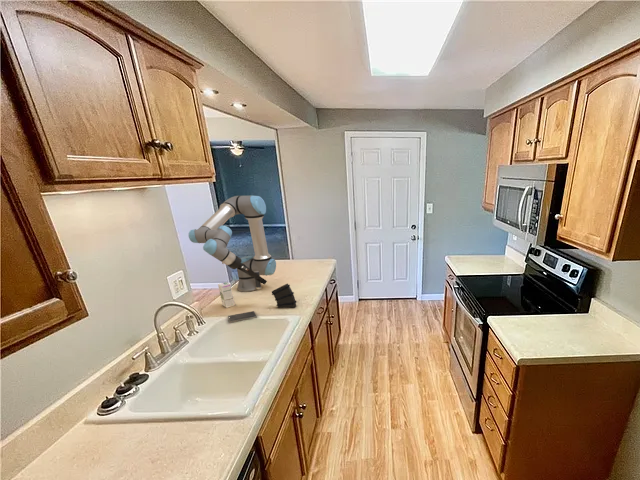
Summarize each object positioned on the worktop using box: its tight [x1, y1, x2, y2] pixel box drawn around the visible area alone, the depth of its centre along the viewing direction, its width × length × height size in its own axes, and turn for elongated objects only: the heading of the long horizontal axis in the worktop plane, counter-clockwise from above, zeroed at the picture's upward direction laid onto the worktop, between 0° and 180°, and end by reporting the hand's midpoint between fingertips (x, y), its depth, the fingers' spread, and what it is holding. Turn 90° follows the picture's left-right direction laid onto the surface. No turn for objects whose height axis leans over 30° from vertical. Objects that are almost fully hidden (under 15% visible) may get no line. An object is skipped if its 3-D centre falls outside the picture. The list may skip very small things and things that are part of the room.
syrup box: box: [217, 281, 236, 309], centre depth 204 cm, size 6×6×14 cm
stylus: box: [254, 271, 262, 290], centre depth 199 cm, size 3×3×11 cm
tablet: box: [227, 310, 257, 324], centre depth 188 cm, size 9×14×1 cm, turn 121°
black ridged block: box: [271, 283, 297, 309], centre depth 202 cm, size 4×13×15 cm, turn 90°
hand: (264, 282), depth 203 cm, fingers closed on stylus, 3 cm apart
